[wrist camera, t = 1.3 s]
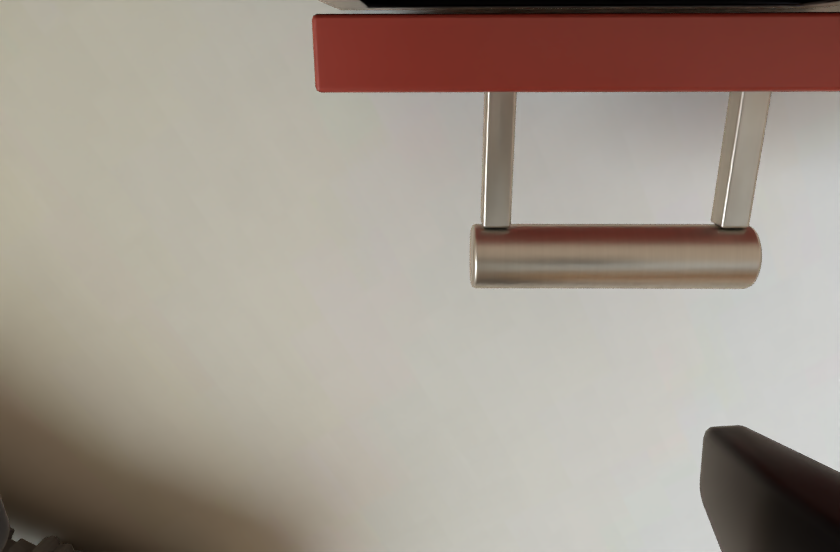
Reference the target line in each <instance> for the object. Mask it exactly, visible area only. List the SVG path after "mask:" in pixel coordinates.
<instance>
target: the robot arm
mask: <svg viewBox="0 0 840 552" xmlns="http://www.w3.org/2000/svg"><path fill="white" fill-rule="evenodd" d="M700 493H701V498H702V502H703V505H704V508H705V510H706V513H707V515H708V518H709V520H710V523H711V526H712V528H713V531H714V533H715V536H716V538H717V541H718V544H719V546H720V549H721V551H722V552H840V472H838V471H836V470H834V469H832V468H830V467H828V466H825V465H823V464H821V463H819V462H817V461H815V460H813V459H811V458H809V457H807V456H805V455H803V454H801V453H798V452H796V451H794V450H792V449H790V448H788V447H786V446H784V445H782V444H780V443H778V442H776V441H774V440H771V439H769V438H767V437H765V436H763V435H761V434H759V433H757V432H755V431H753V430H751V429H749V428H747V427H744V426H740V425H734V426H718V427H710V428H709V429H708V430H707V431H706V432H705V435H704V439H703V450H702V462H701V474H700ZM9 530H10V524H9V519H8V516H7V513H6V510H5V507H4V504H3V501H2V499H1V496H0V552H2V550H3V549H4V547H5V545H6V542H7V540H8V536H9Z"/></svg>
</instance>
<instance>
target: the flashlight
mask: <svg viewBox="0 0 840 552" xmlns="http://www.w3.org/2000/svg"><path fill="white" fill-rule="evenodd" d="M13 533H14V529H12V528H10V530H9V536H8V540H7V542H6V545H5V547H4V549H3V550H2V552H74V549H73V546H72V545H71V544H67V543H65V544H60V541H59V539H58V538H57V537H55V536H50V537H46V538H44V539H43V540H42V541H41V542H40V543H39V544H38V545H37V546H36V545H34V544H32V543H30V542H28V541H26V540H24V539H20V540H19V541H18V542H15V541H13V540H11V538H12V535H13ZM75 552H84V551H75Z"/></svg>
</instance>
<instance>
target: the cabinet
mask: <svg viewBox="0 0 840 552" xmlns="http://www.w3.org/2000/svg"><path fill="white" fill-rule="evenodd" d="M319 1H321V2H323V3H325V4H328V5H330V6H332V7H334V8H337V9H340V10H511V9H779V8H822V7H830V6H840V0H319Z"/></svg>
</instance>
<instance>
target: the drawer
mask: <svg viewBox="0 0 840 552" xmlns="http://www.w3.org/2000/svg"><path fill="white" fill-rule="evenodd" d="M312 30H313V49H314V67H315V86H316V89H317V91H319V92H484V123H483V158H482V192H481V222H482V224H475V225H473V226H472V228H471V233H470V281H471V285H472V287H474V288H643V289H745V288H748V287H750V286H751V285H753V284H754V282H755V281H756V279H757V277H758V275H759V272H760V268H761V262H762V249H761V243H760V239H759V237H758V234H757V232H756V231H755V230H754V229H753V228H752V227H751V226H749V222H750V216H751V210H752V204H753V198H754V192H755V186H756V180H757V174H758V168H759V162H760V157H761V151H762V145H763V139H764V133H765V127H766V121H767V115H768V109H769V103H770V97H771V92H801V91H840V12H750V13H476V14H316V15H314V16H313V19H312ZM517 92H730V95H729V102H728V108H727V115H726V122H725V128H724V135H723V142H722V149H721V155H720V162H719V169H718V175H717V182H716V189H715V196H714V202H713V209H712V216H711V221H712V222H713V223H714V224H511V206H512V184H513V161H514V139H515V117H516V94H517Z"/></svg>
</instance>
